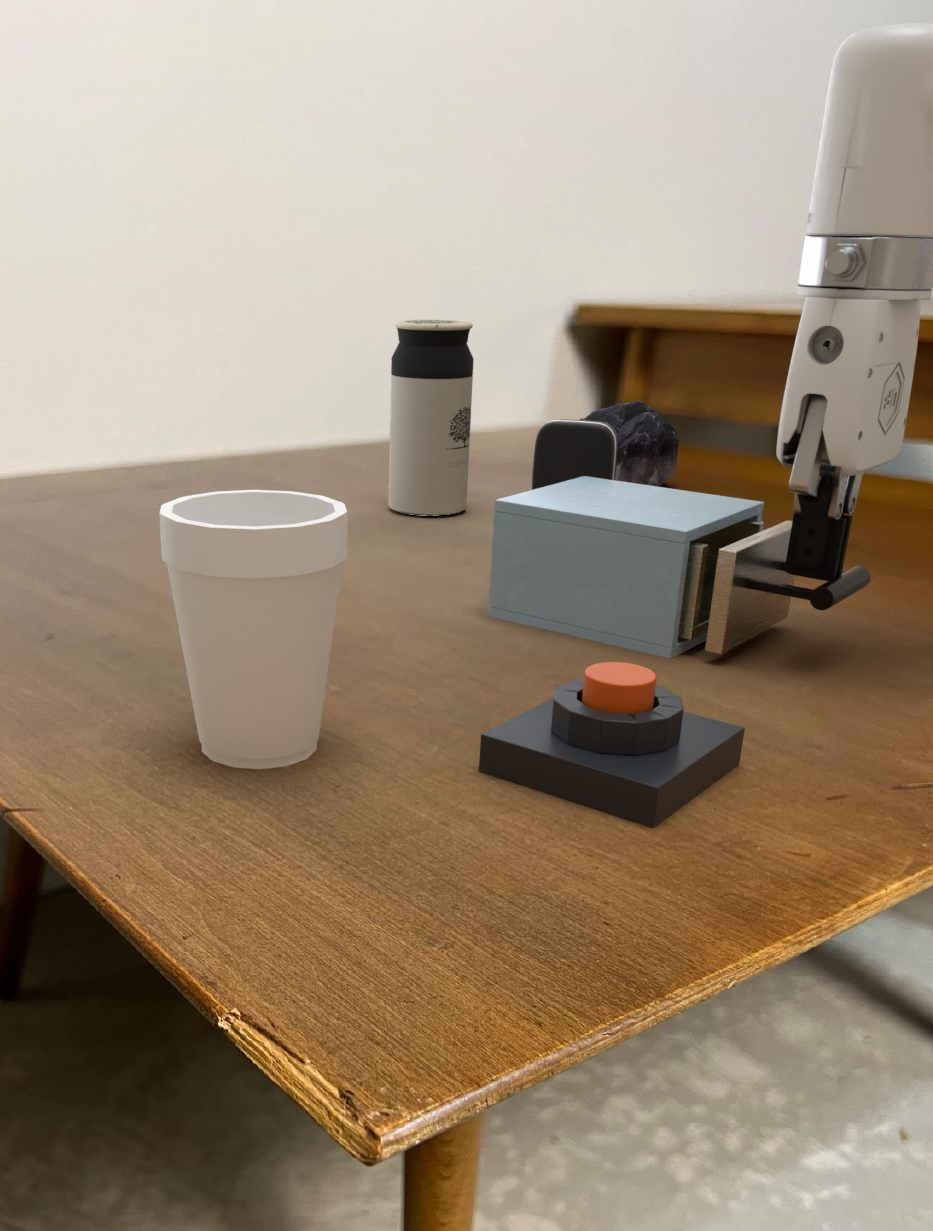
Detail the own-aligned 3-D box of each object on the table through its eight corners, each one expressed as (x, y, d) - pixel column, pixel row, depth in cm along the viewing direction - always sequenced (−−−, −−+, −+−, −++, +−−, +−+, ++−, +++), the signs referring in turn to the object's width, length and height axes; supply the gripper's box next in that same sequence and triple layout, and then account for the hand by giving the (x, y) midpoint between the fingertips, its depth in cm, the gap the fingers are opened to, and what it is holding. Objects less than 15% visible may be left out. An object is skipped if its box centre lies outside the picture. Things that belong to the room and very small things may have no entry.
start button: (665, 703, 62) (668, 671, 61) (632, 723, 59) (635, 690, 59) (603, 687, 64) (606, 656, 63) (568, 706, 61) (571, 673, 61)
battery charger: (610, 551, 107) (624, 419, 102) (603, 560, 104) (617, 425, 99) (533, 543, 109) (543, 414, 105) (524, 553, 106) (534, 420, 101)
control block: (739, 765, 64) (750, 695, 62) (653, 829, 57) (662, 752, 55) (575, 719, 70) (581, 654, 68) (478, 772, 63) (482, 701, 61)
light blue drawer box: (747, 618, 89) (764, 501, 85) (670, 659, 80) (686, 531, 76) (574, 582, 97) (583, 475, 94) (487, 616, 88) (494, 499, 85)
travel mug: (372, 508, 123) (375, 320, 115) (427, 498, 127) (433, 318, 120) (426, 521, 117) (433, 325, 110) (482, 510, 122) (492, 322, 115)
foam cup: (136, 754, 64) (119, 511, 59) (244, 703, 71) (238, 483, 66) (277, 797, 59) (273, 538, 54) (378, 739, 66) (383, 504, 61)
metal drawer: (869, 633, 83) (888, 535, 80) (808, 674, 75) (827, 567, 72) (619, 583, 94) (628, 495, 91) (543, 614, 86) (550, 519, 83)
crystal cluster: (547, 476, 143) (547, 391, 139) (661, 468, 143) (665, 382, 138) (560, 508, 132) (560, 416, 127) (685, 500, 131) (690, 407, 126)
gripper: (890, 274, 63) (828, 610, 71) (969, 272, 74) (907, 564, 81) (754, 269, 68) (709, 586, 75) (846, 268, 78) (798, 546, 86)
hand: (812, 574), depth 78 cm, fingers closed
